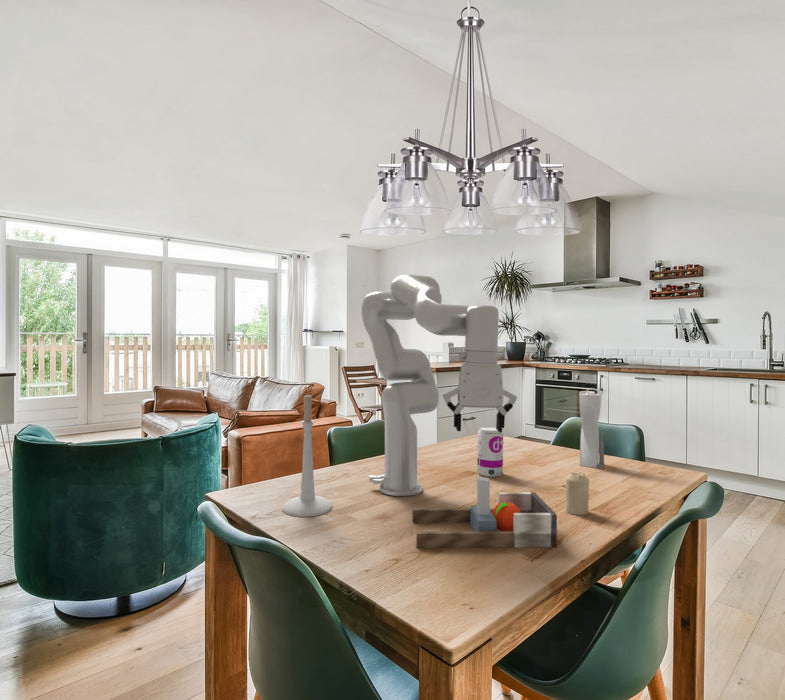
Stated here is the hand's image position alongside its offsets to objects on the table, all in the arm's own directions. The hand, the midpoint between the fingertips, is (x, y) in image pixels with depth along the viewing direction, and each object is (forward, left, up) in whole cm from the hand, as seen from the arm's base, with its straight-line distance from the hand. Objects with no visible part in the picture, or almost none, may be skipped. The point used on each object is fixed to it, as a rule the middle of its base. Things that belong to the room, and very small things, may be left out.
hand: (478, 430), depth 116 cm
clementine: (+6, -4, -23) cm, 24 cm away
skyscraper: (+51, +56, -23) cm, 79 cm away
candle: (+28, +10, -23) cm, 37 cm away
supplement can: (+13, +45, -23) cm, 52 cm away
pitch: (0, -4, -23) cm, 23 cm away
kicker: (0, -4, -23) cm, 23 cm away
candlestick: (-42, +13, -23) cm, 50 cm away
